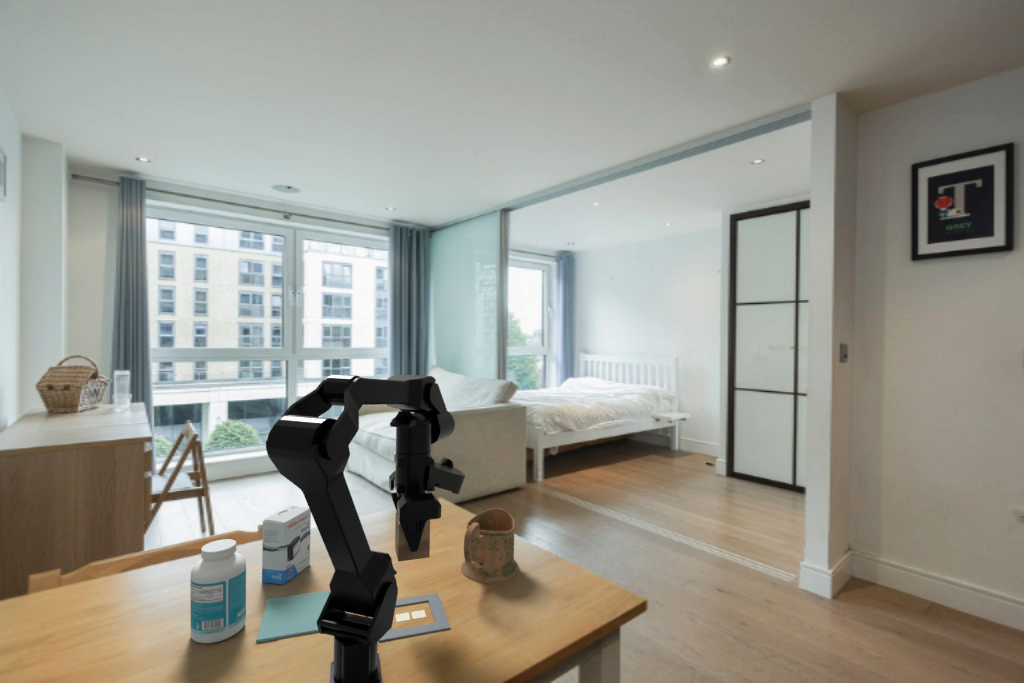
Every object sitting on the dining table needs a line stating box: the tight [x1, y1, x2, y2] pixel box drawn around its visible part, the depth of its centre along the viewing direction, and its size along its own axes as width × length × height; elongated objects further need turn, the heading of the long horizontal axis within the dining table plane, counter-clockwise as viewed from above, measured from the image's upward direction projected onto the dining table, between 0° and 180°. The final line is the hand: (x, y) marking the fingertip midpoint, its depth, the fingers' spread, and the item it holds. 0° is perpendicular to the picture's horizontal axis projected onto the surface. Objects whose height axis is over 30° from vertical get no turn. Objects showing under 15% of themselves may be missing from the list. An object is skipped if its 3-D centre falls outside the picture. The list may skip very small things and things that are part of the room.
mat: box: [255, 589, 330, 644], centre depth 80 cm, size 12×10×1 cm
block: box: [394, 513, 431, 562], centre depth 80 cm, size 5×5×6 cm
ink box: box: [261, 505, 312, 585], centre depth 94 cm, size 8×5×12 cm, turn 168°
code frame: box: [378, 592, 451, 643], centre depth 80 cm, size 11×11×1 cm
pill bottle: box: [190, 538, 247, 644], centre depth 75 cm, size 8×7×14 cm
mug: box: [460, 507, 519, 584], centre depth 94 cm, size 12×18×12 cm, turn 161°
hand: (411, 544), depth 80 cm, fingers closed on block, 5 cm apart
